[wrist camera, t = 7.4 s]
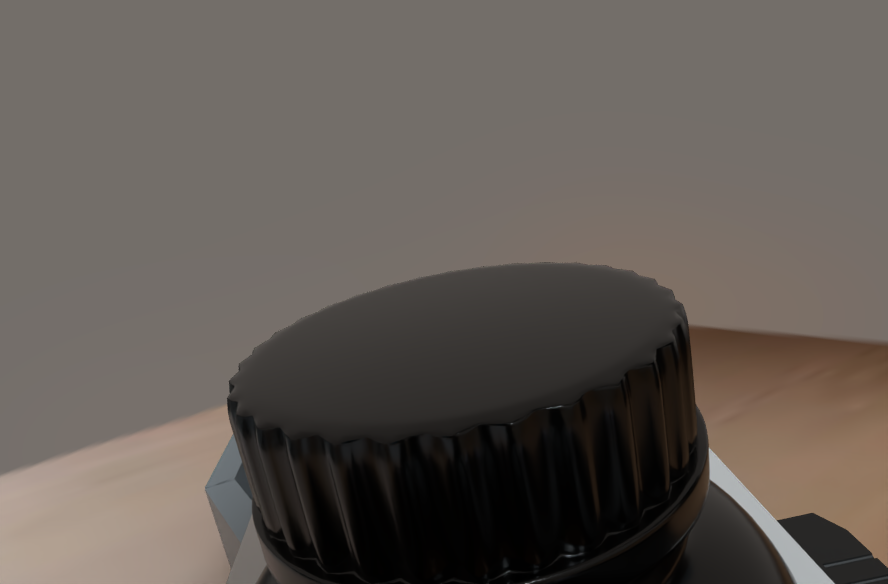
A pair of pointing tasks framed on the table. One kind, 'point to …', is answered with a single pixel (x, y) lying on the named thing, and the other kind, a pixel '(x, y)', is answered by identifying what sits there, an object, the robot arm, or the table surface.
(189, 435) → the table surface
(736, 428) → the table surface
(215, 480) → the bowl
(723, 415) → the table surface
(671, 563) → the supplement bottle
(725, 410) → the table surface
